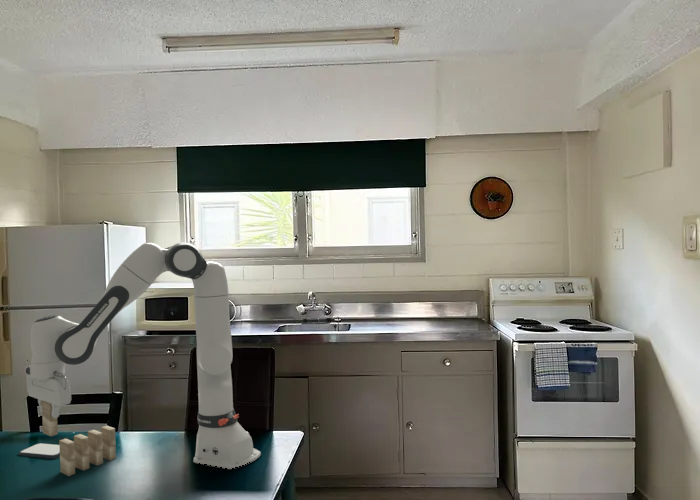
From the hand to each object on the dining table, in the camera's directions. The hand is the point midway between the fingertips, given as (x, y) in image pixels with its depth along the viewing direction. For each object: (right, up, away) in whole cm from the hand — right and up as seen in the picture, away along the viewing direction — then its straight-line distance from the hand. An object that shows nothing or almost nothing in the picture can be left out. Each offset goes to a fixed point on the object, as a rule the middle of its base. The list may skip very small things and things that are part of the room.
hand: (49, 415), depth 162 cm
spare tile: (0, -6, 0) cm, 6 cm away
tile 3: (+6, -19, +8) cm, 21 cm away
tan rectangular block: (+11, -19, +15) cm, 27 cm away
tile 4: (+3, -19, +4) cm, 20 cm away
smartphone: (-13, -20, +21) cm, 32 cm away
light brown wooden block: (+9, -19, +11) cm, 24 cm away
